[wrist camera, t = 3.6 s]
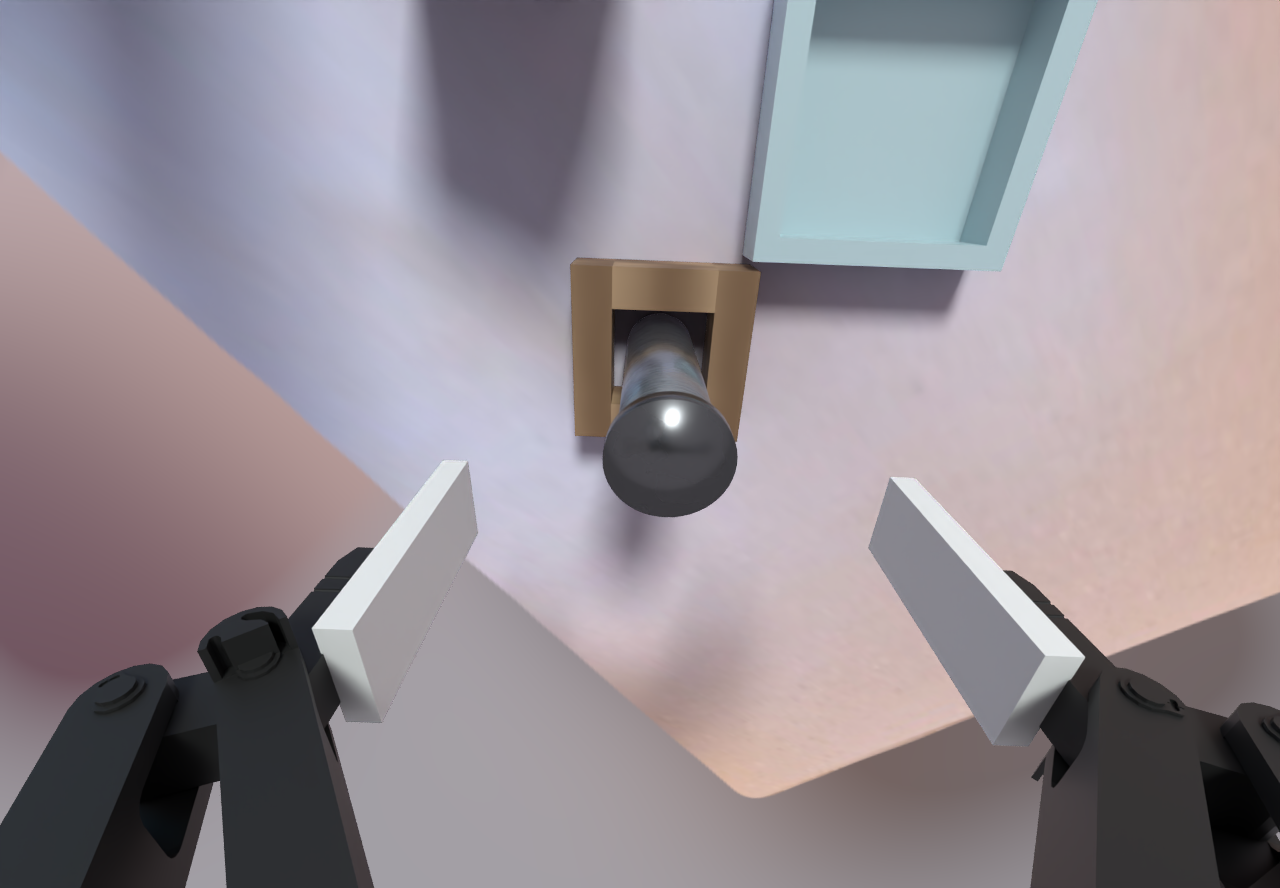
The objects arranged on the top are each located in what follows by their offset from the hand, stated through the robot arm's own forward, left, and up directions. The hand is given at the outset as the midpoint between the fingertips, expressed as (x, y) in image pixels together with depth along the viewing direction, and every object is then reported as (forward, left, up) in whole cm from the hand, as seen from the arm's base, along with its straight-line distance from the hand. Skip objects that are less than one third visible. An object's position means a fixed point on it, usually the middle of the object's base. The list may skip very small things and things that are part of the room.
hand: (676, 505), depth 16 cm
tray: (+11, +12, -17) cm, 24 cm away
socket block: (0, 0, -17) cm, 17 cm away
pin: (0, 0, -17) cm, 17 cm away
